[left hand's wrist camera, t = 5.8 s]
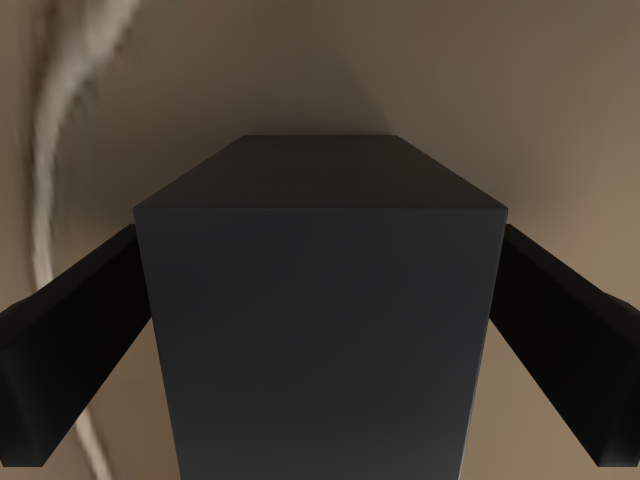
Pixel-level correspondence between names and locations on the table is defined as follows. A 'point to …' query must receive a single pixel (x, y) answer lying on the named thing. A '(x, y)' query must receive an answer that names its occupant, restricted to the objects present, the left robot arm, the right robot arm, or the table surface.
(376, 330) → the bar
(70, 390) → the left robot arm
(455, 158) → the table surface
